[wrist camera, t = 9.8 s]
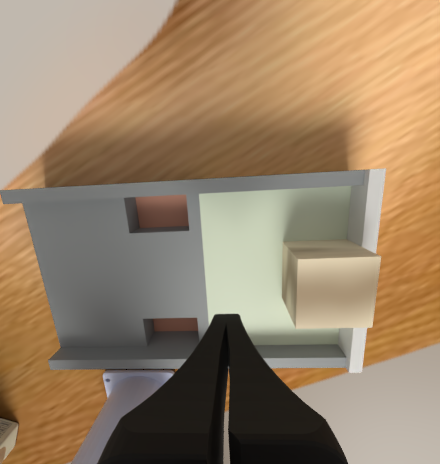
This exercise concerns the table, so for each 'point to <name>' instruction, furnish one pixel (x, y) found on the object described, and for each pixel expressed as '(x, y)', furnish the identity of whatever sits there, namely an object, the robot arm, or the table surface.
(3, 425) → the skincare box
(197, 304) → the trap box
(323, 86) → the table surface
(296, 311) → the birch block
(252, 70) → the table surface
